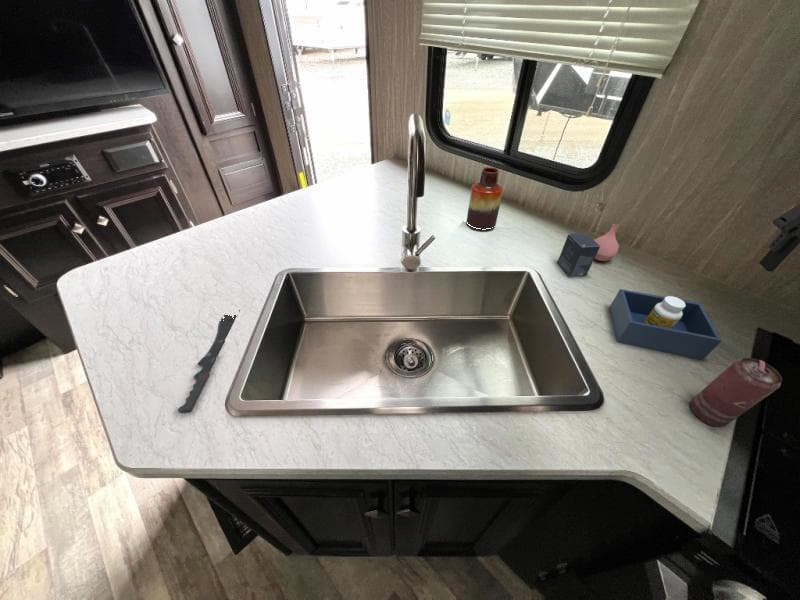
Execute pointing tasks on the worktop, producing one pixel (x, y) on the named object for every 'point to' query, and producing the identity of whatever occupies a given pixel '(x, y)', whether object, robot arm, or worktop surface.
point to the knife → (208, 362)
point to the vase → (485, 201)
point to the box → (578, 254)
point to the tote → (684, 339)
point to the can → (735, 391)
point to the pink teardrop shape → (607, 245)
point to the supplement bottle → (666, 312)
